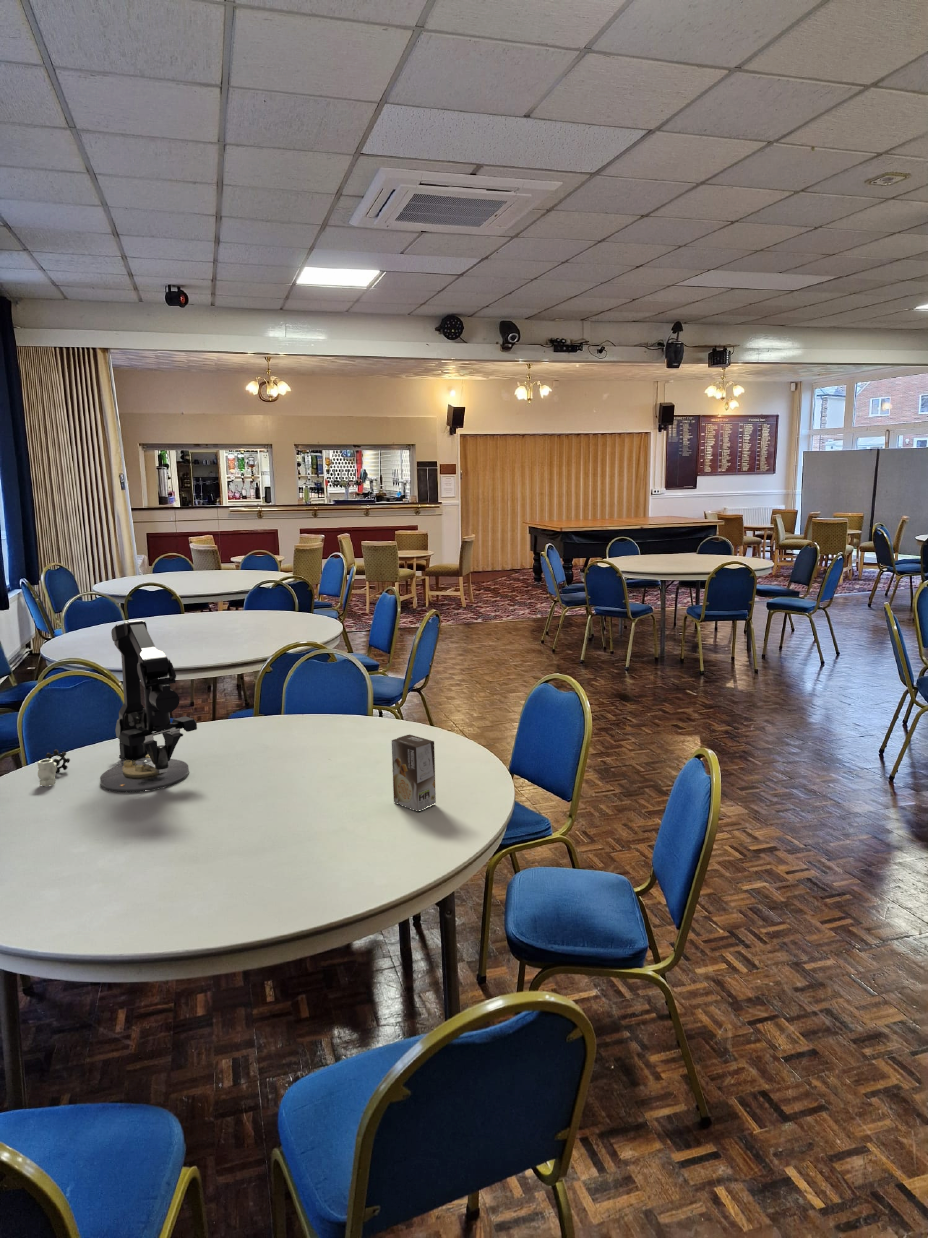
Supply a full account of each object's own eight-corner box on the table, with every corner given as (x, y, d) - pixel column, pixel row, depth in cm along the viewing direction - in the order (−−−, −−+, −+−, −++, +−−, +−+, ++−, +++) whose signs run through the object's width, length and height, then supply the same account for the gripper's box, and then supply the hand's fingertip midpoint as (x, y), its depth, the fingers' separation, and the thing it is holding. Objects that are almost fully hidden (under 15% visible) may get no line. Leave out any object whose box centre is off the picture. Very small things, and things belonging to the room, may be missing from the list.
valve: (59, 786, 205) (71, 771, 216) (57, 762, 204) (69, 748, 215) (31, 789, 203) (45, 773, 215) (29, 764, 202) (42, 750, 214)
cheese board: (153, 761, 218) (151, 732, 216) (185, 773, 207) (183, 743, 206) (115, 771, 209) (112, 741, 208) (145, 785, 199) (143, 753, 198)
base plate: (162, 758, 226) (161, 752, 225) (204, 774, 212) (204, 768, 211) (85, 779, 209) (84, 773, 209) (126, 799, 195) (125, 792, 195)
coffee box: (437, 805, 189) (436, 741, 186) (418, 813, 184) (416, 747, 182) (411, 795, 195) (409, 733, 192) (392, 803, 190) (390, 739, 188)
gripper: (173, 692, 213) (177, 747, 216) (106, 707, 199) (111, 765, 202) (196, 698, 206) (200, 755, 209) (128, 714, 192) (132, 775, 195)
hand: (161, 762), depth 204 cm, fingers closed on cheese board, 3 cm apart
